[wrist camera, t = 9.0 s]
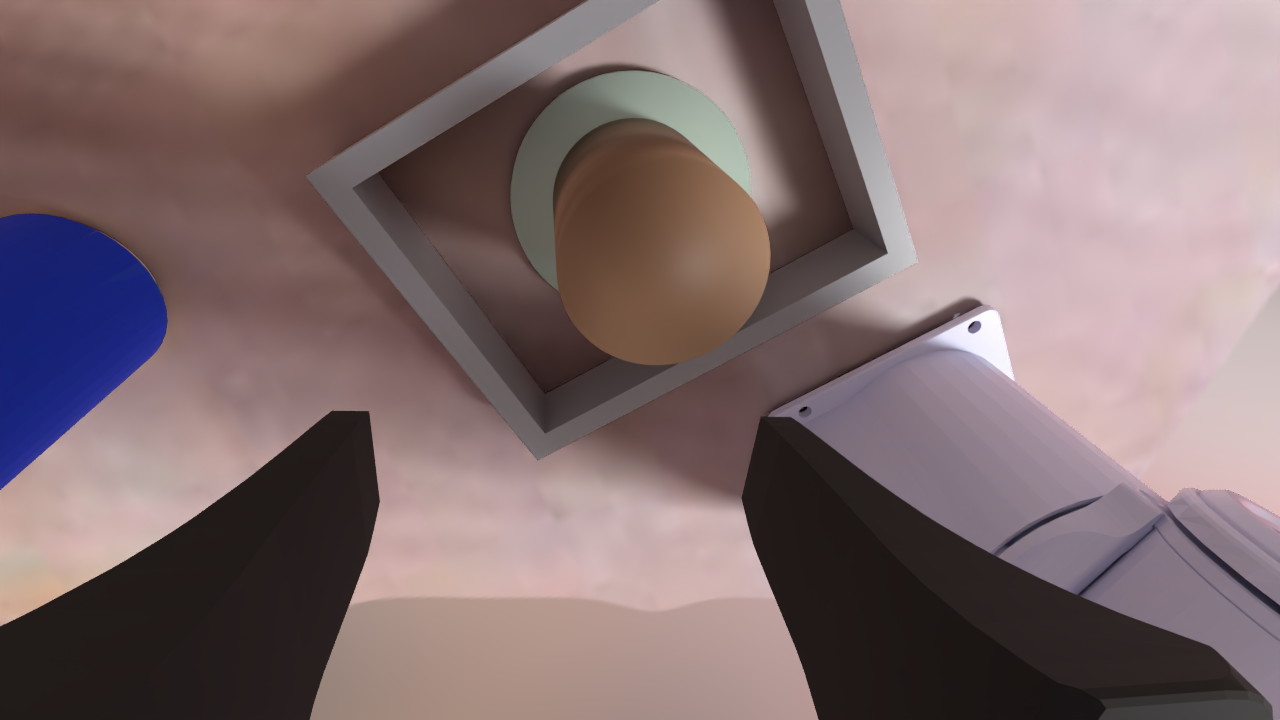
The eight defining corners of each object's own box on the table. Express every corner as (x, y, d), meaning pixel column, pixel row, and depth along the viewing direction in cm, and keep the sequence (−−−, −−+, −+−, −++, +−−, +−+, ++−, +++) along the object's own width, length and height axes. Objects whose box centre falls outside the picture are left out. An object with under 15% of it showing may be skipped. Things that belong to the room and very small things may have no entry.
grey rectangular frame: (537, 419, 24) (537, 460, 21) (333, 156, 18) (304, 176, 16) (881, 236, 22) (918, 262, 20) (766, -113, 16) (799, -132, 14)
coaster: (588, 345, 22) (589, 350, 22) (460, 153, 19) (459, 156, 18) (781, 241, 21) (785, 245, 21) (686, 17, 18) (689, 17, 17)
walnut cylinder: (605, 303, 21) (626, 398, 16) (520, 174, 19) (511, 237, 14) (735, 227, 21) (801, 300, 15) (665, 84, 18) (714, 113, 13)
